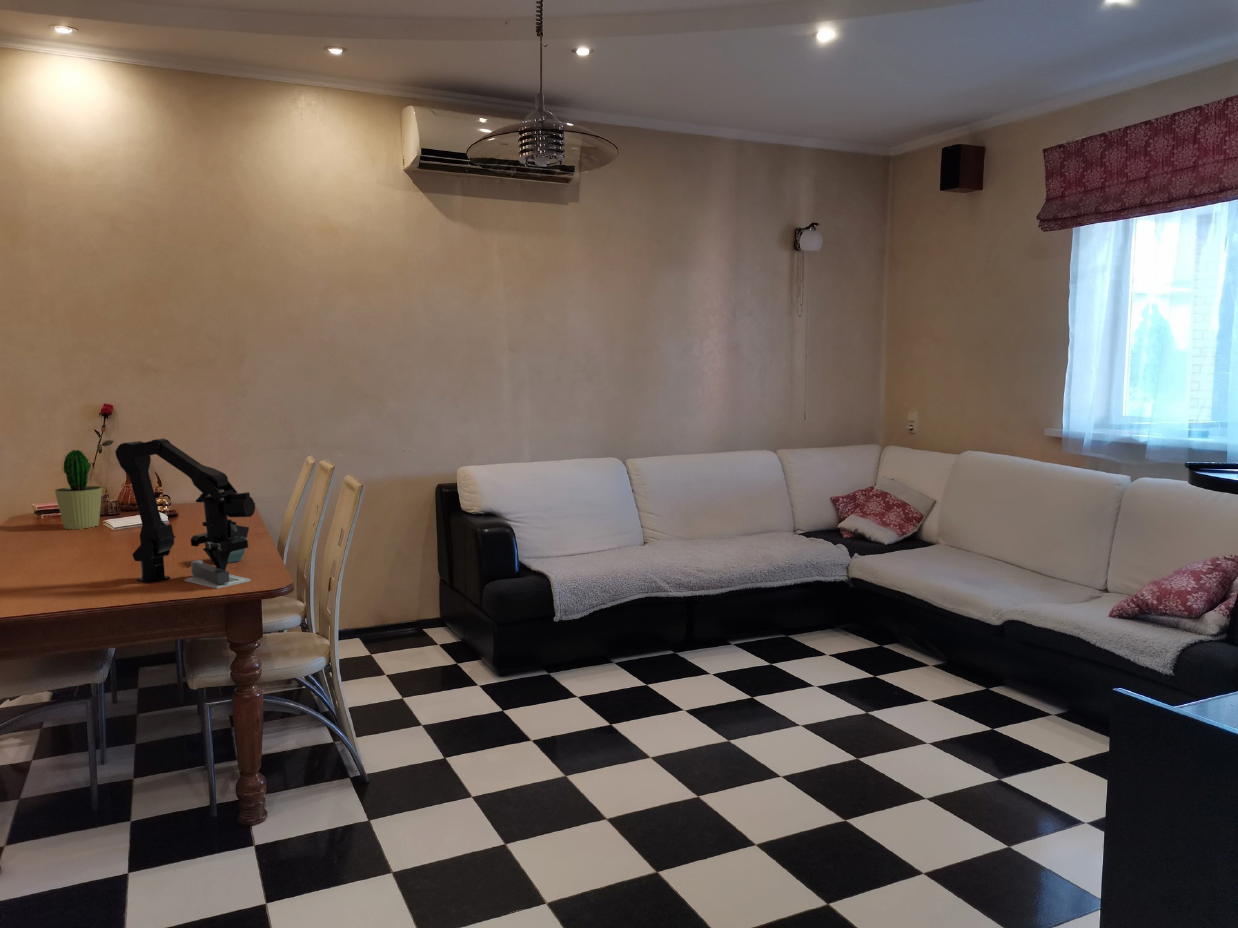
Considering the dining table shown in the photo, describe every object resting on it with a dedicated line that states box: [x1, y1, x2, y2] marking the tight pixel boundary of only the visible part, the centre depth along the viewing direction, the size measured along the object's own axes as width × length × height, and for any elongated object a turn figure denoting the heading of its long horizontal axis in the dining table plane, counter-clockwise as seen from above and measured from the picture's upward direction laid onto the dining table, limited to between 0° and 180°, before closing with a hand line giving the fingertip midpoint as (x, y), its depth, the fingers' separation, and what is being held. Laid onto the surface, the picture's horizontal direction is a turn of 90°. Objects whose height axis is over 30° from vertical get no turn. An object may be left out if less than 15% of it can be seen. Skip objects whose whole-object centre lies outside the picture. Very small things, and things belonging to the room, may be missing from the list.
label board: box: [184, 573, 251, 590], centre depth 250 cm, size 19×10×1 cm, turn 56°
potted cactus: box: [54, 449, 103, 530], centre depth 334 cm, size 15×15×30 cm
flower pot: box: [227, 536, 247, 564], centre depth 274 cm, size 9×9×9 cm
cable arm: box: [190, 559, 230, 584], centre depth 248 cm, size 20×3×3 cm, turn 46°
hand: (222, 571), depth 249 cm, fingers closed
